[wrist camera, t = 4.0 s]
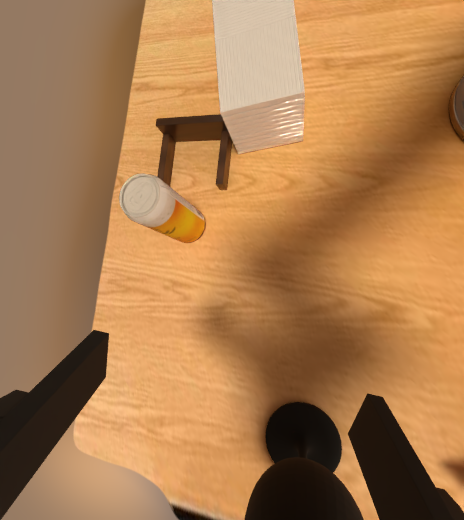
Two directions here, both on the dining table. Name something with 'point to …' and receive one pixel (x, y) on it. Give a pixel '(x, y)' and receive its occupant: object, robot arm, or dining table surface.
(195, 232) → the beer can
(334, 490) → the wine glass
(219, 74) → the stack of papers
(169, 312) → the dining table surface
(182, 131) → the brown wooden u-shaped frame
